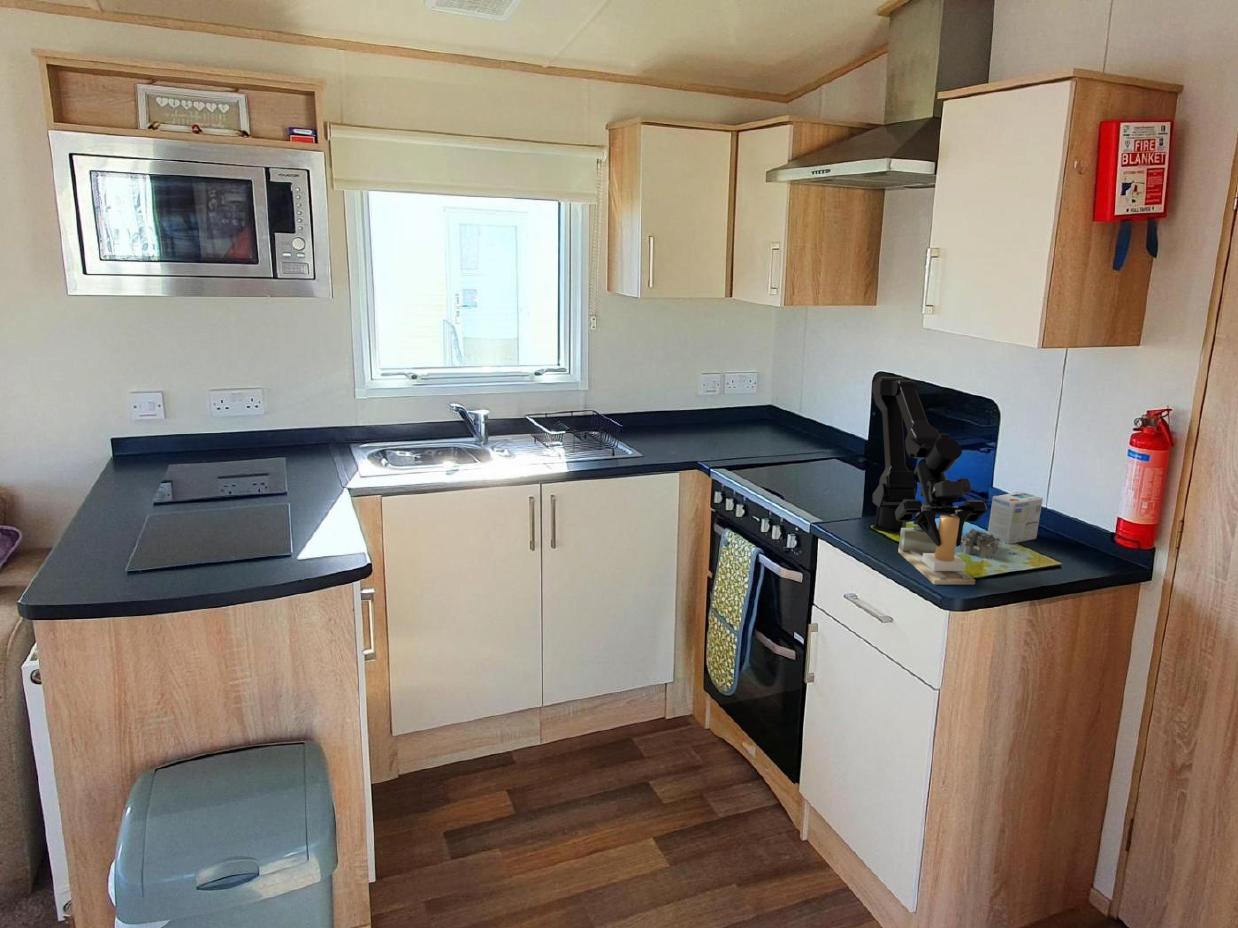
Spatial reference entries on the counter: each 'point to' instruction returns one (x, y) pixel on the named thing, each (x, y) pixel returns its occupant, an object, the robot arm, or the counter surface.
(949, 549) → the rubber stamp
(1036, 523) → the light bulb box
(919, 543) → the rail board
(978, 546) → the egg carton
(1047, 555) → the counter surface
